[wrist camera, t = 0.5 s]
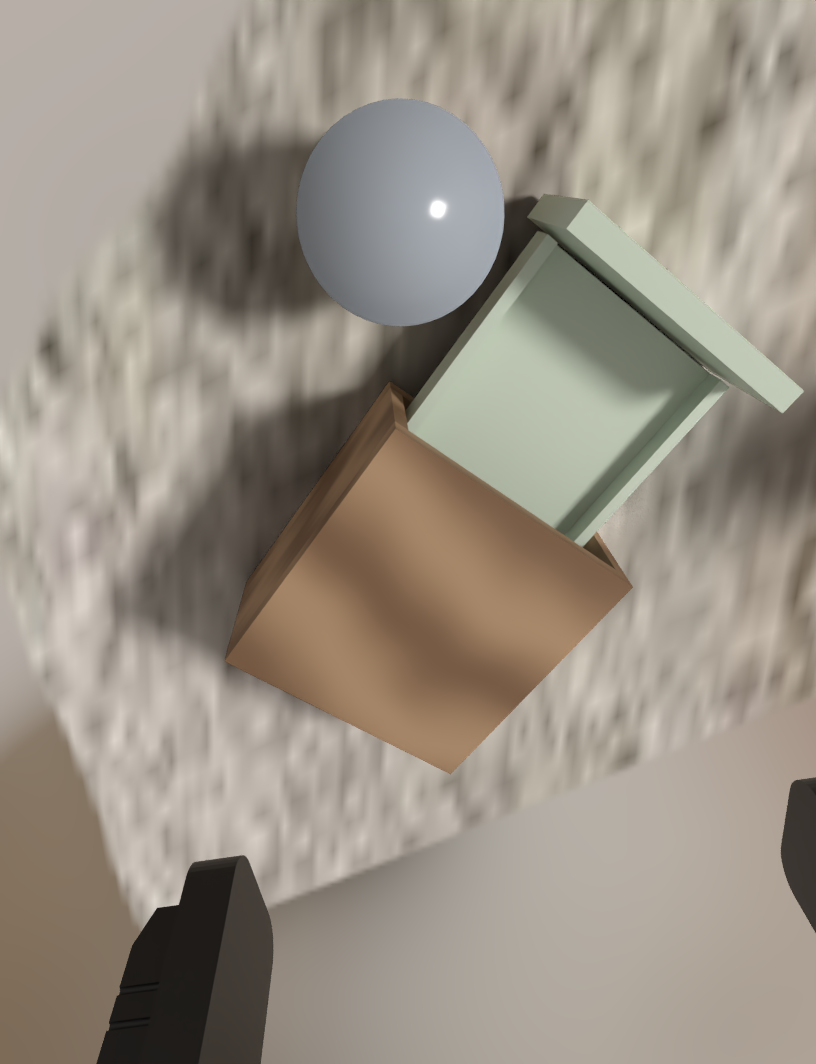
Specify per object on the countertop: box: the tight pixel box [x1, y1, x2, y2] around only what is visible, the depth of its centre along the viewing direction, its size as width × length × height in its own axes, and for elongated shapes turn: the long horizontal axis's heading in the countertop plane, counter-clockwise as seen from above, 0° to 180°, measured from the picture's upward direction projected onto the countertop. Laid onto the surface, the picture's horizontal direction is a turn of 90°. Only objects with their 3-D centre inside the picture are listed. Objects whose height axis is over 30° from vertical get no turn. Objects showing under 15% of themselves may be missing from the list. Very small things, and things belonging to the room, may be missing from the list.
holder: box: [224, 381, 633, 774], centre depth 31 cm, size 12×12×6 cm
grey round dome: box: [296, 99, 504, 326], centre depth 23 cm, size 6×6×2 cm
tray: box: [405, 194, 804, 547], centre depth 28 cm, size 12×10×6 cm
